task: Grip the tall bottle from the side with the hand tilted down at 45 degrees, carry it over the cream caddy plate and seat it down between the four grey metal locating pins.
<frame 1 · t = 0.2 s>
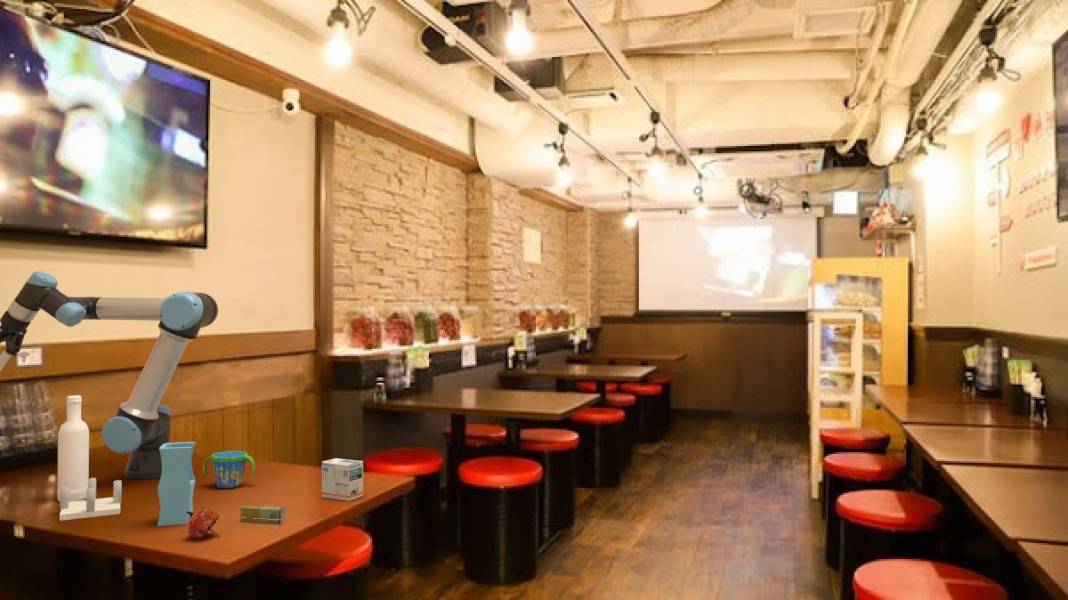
light bulb box: (342, 497, 223), on the table
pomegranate: (203, 537, 185), on the table
bottle: (73, 499, 219), on the table
snack cup: (229, 486, 235), on the table
vase: (176, 521, 198), on the table
medication box: (262, 523, 198), on the table
pin caddy: (91, 510, 207), on the table
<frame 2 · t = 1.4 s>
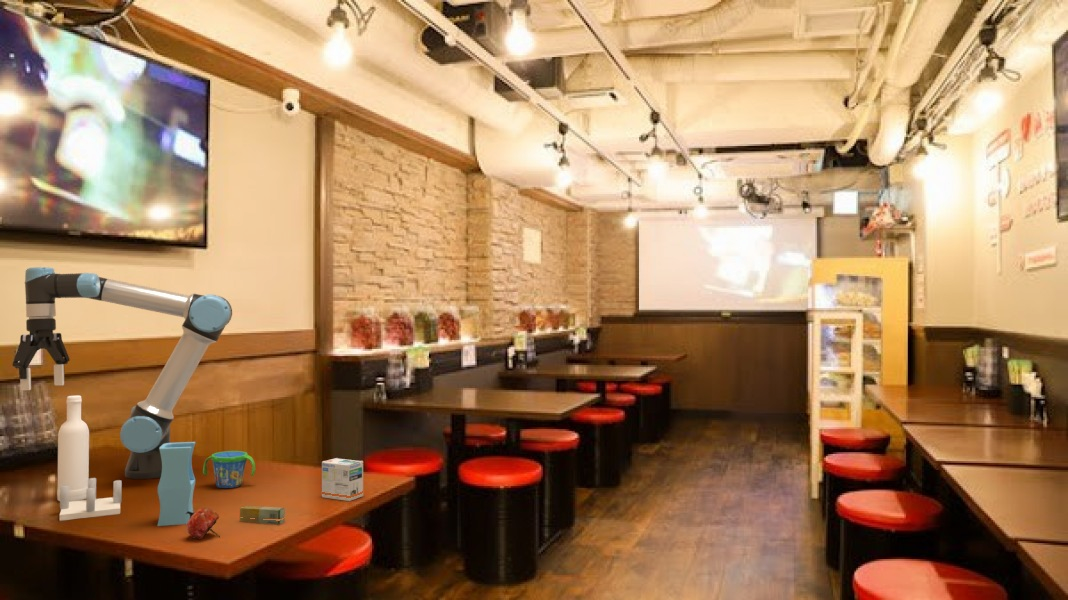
hand: (43, 387, 228), 31 cm above the table, tool pointing down, fingers open, 13 cm apart
nothing on the table moved.
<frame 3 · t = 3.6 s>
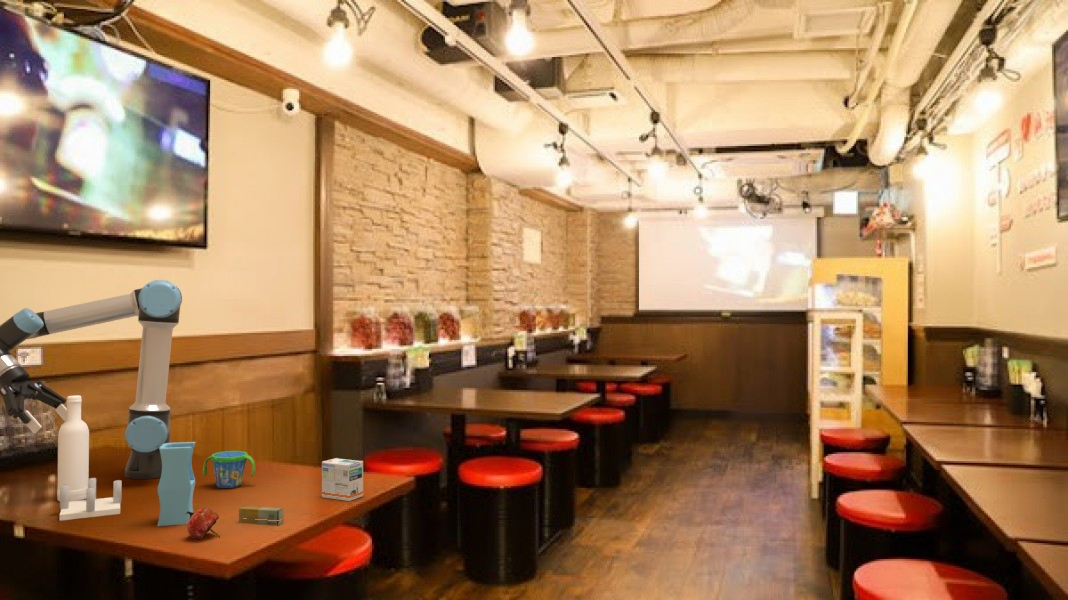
hand: (56, 426, 219), 21 cm above the table, tool tilted 45°, fingers open, 13 cm apart
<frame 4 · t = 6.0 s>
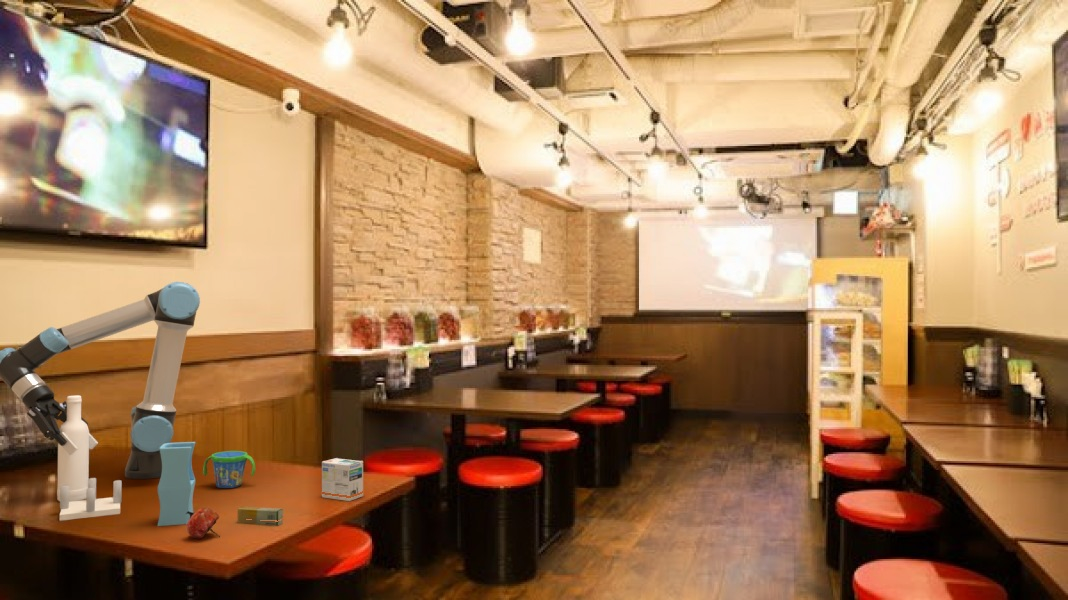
hand: (84, 449, 219), 15 cm above the table, tool tilted 45°, fingers closed on bottle, 8 cm apart
bottle: (73, 499, 219), on the table, touching gripper
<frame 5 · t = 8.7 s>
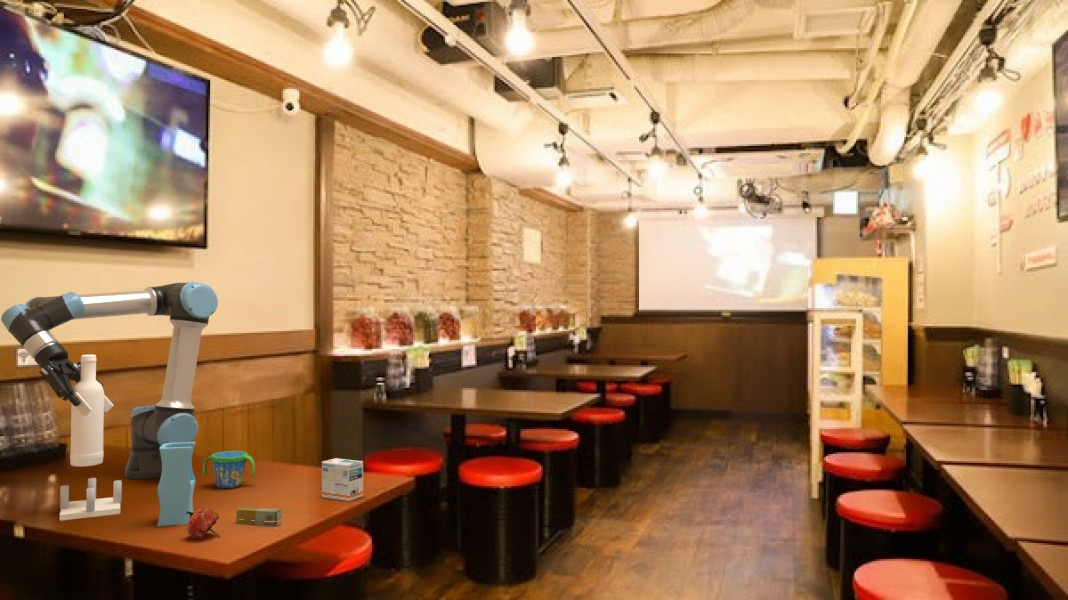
hand: (99, 410, 206), 28 cm above the table, tool tilted 45°, fingers closed on bottle, 8 cm apart
bottle: (86, 464, 207), point 13 cm above the table, touching gripper
when the fingers open (18 cm above the table, at t = 11.6 s): bottle drops 1 cm, resting on pin caddy.
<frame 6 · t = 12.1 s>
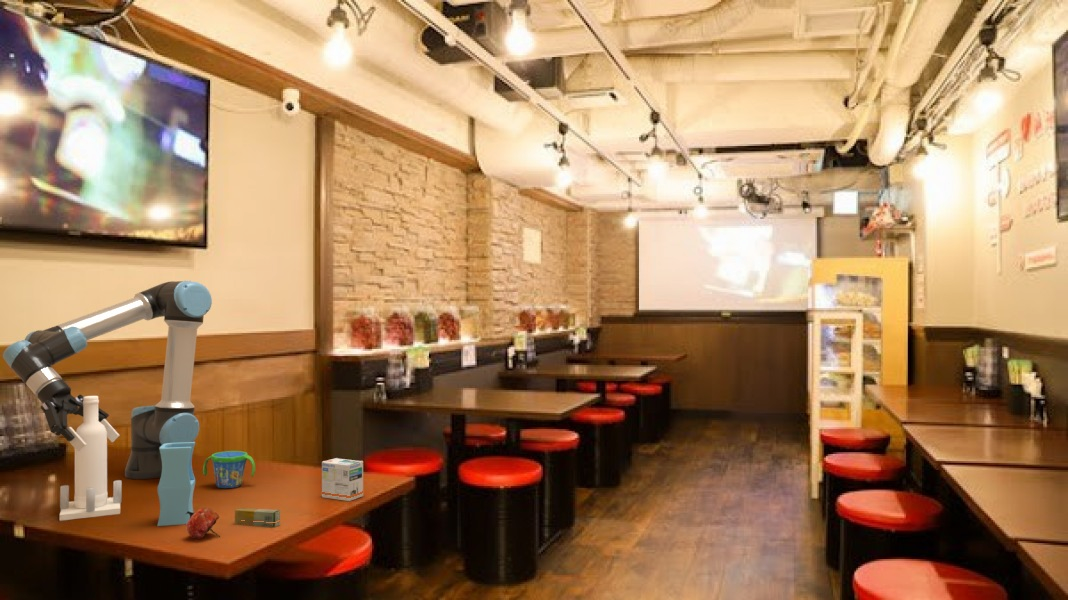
hand: (99, 443, 206), 19 cm above the table, tool tilted 45°, fingers open, 13 cm apart
bottle: (91, 505, 207), point 1 cm above the table, touching pin caddy
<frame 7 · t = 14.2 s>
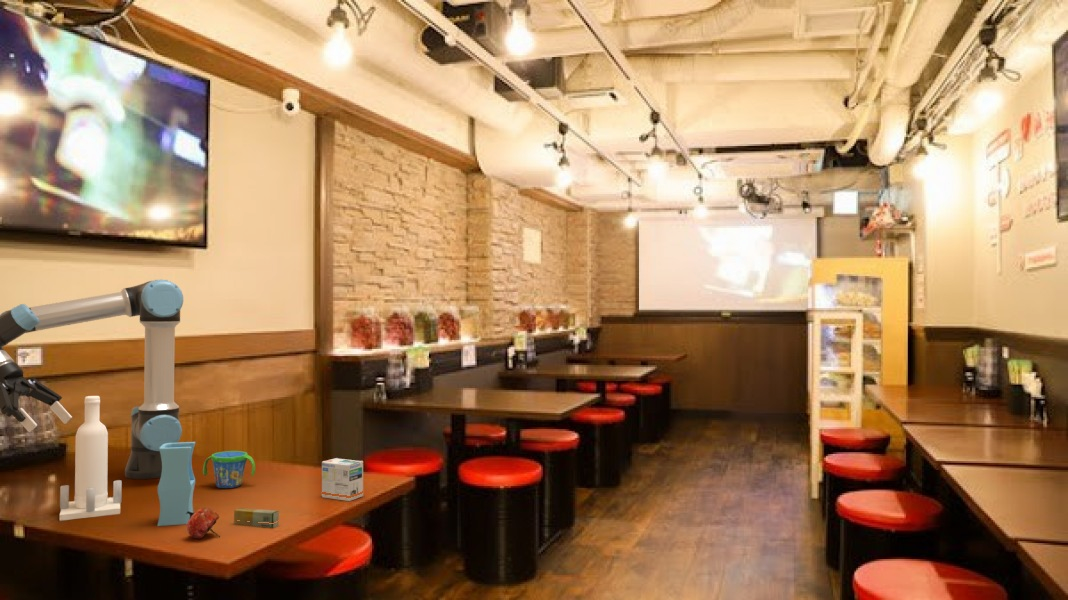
hand: (51, 424, 210), 23 cm above the table, tool tilted 45°, fingers open, 13 cm apart
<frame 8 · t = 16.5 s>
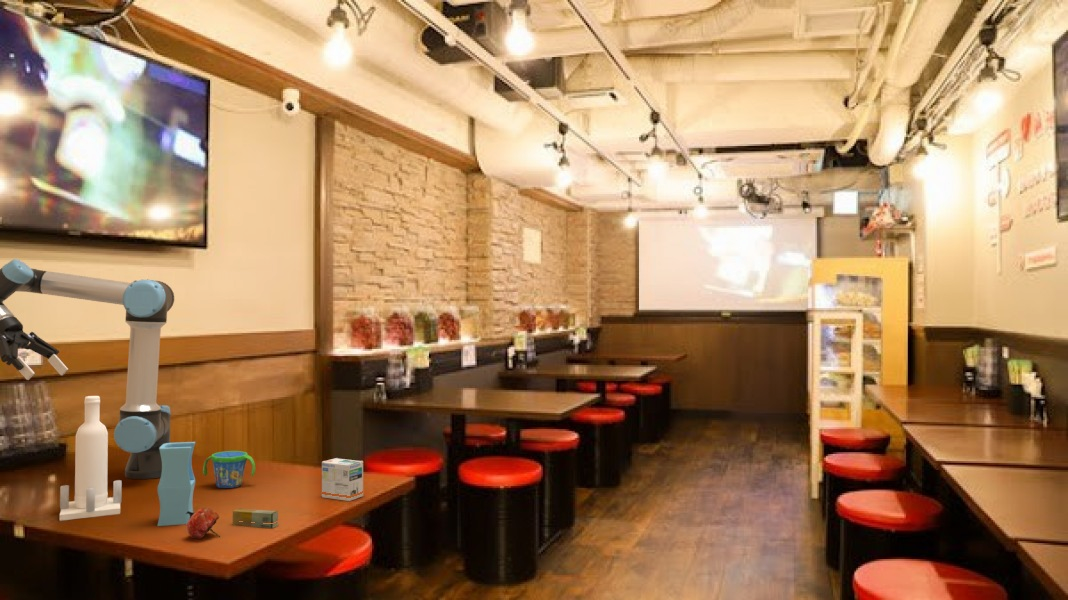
hand: (48, 374, 225), 36 cm above the table, tool tilted 45°, fingers open, 13 cm apart
at the end: bottle 0.2 cm from the pin caddy (horizontally); bottle tilted 0°; the gripper is holding nothing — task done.
